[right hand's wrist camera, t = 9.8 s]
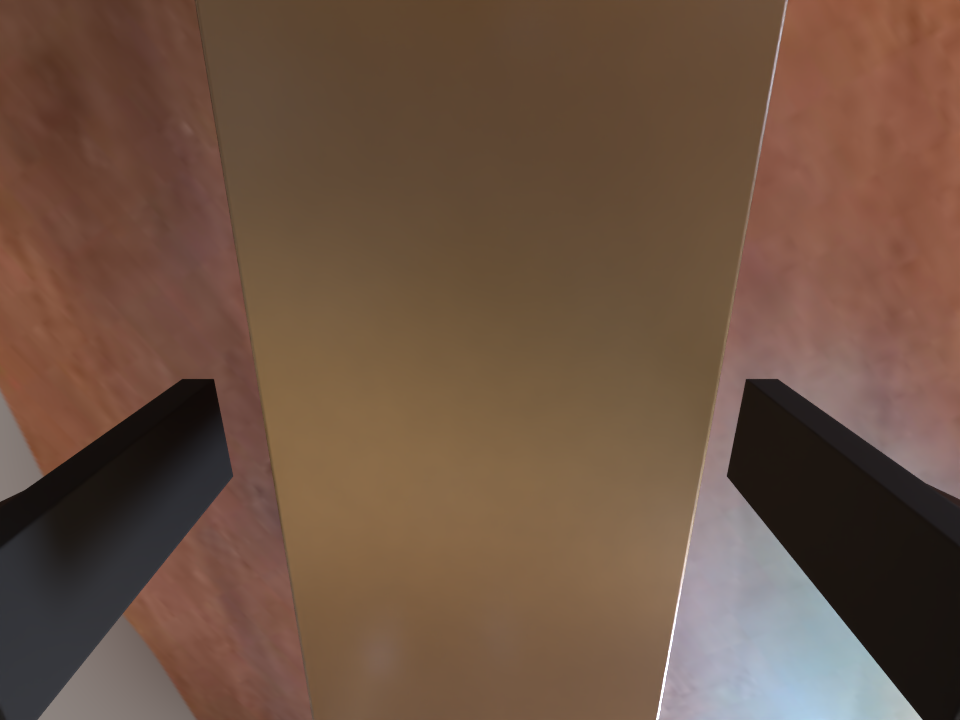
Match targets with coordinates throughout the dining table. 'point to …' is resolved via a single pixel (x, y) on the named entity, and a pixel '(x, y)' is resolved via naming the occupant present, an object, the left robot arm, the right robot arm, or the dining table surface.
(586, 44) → the bar
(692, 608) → the dining table surface
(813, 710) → the dining table surface
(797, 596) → the dining table surface
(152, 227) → the dining table surface
